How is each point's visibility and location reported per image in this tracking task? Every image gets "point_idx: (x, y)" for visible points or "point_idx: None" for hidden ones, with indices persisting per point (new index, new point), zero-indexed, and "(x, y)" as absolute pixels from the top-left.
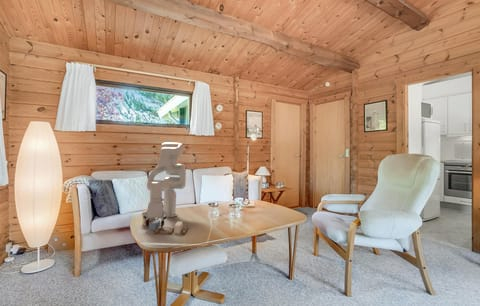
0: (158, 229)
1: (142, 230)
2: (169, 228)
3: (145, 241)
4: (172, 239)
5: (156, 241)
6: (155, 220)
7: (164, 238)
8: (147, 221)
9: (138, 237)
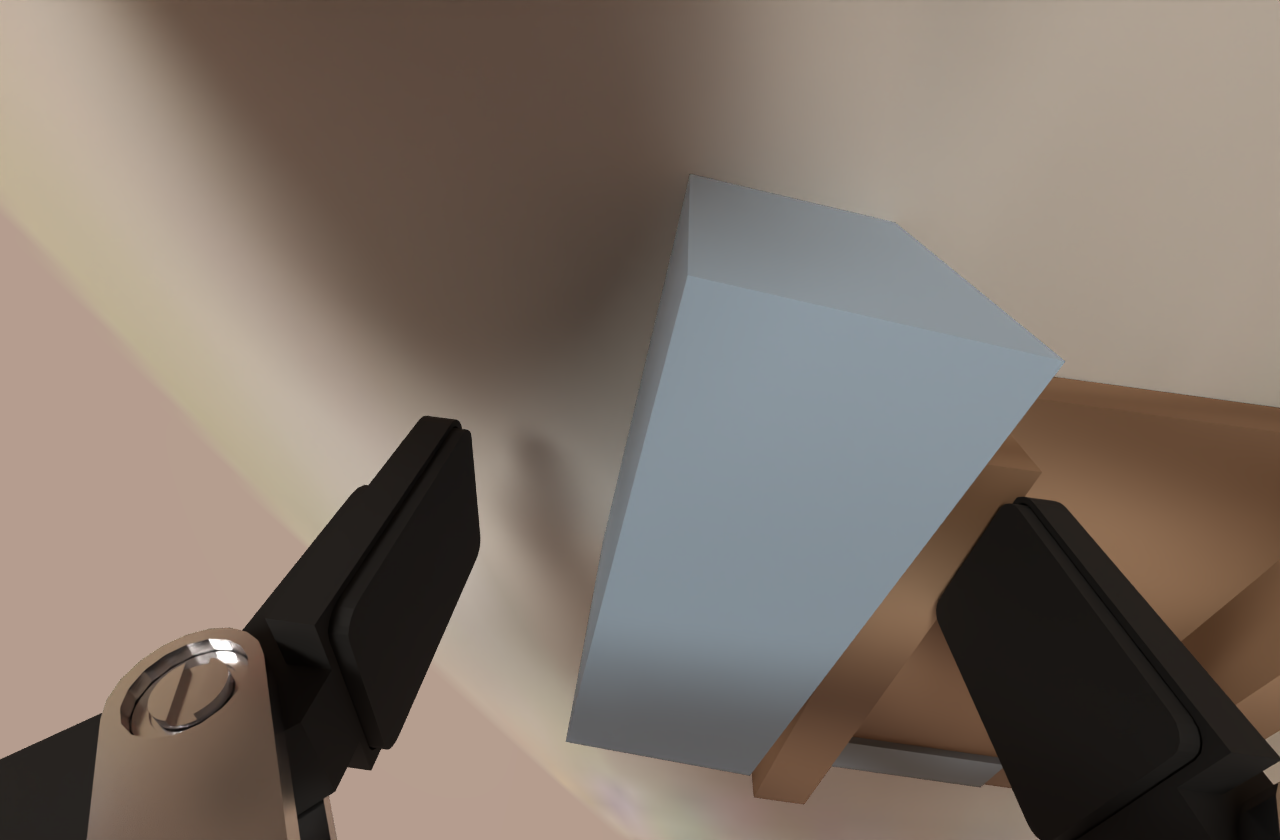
0: (841, 734)
1: (390, 451)
2: (1204, 520)
3: (652, 813)
4: (1028, 825)
5: (794, 830)
6: (704, 304)
7: (914, 793)
8: (395, 717)
9: (505, 726)
